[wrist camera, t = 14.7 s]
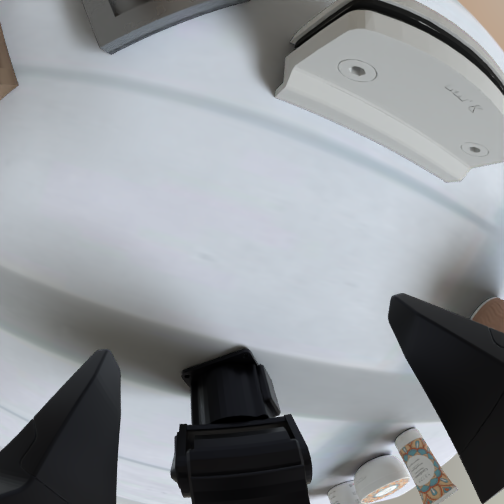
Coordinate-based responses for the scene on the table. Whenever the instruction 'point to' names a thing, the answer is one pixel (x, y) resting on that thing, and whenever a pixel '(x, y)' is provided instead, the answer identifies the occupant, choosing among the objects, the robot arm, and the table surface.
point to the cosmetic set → (397, 475)
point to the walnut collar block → (6, 69)
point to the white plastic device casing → (401, 83)
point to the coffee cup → (490, 314)
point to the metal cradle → (142, 18)
